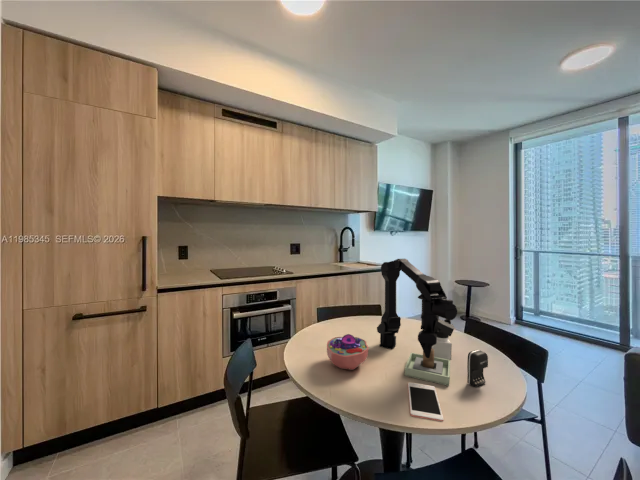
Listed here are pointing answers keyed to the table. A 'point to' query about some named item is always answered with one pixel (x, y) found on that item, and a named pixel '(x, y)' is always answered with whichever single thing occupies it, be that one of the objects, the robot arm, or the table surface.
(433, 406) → the cell phone
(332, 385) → the table surface
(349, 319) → the table surface
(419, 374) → the tray
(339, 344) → the cell model
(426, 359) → the peg
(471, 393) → the table surface
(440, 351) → the medicine bottle
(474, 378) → the battery charger
